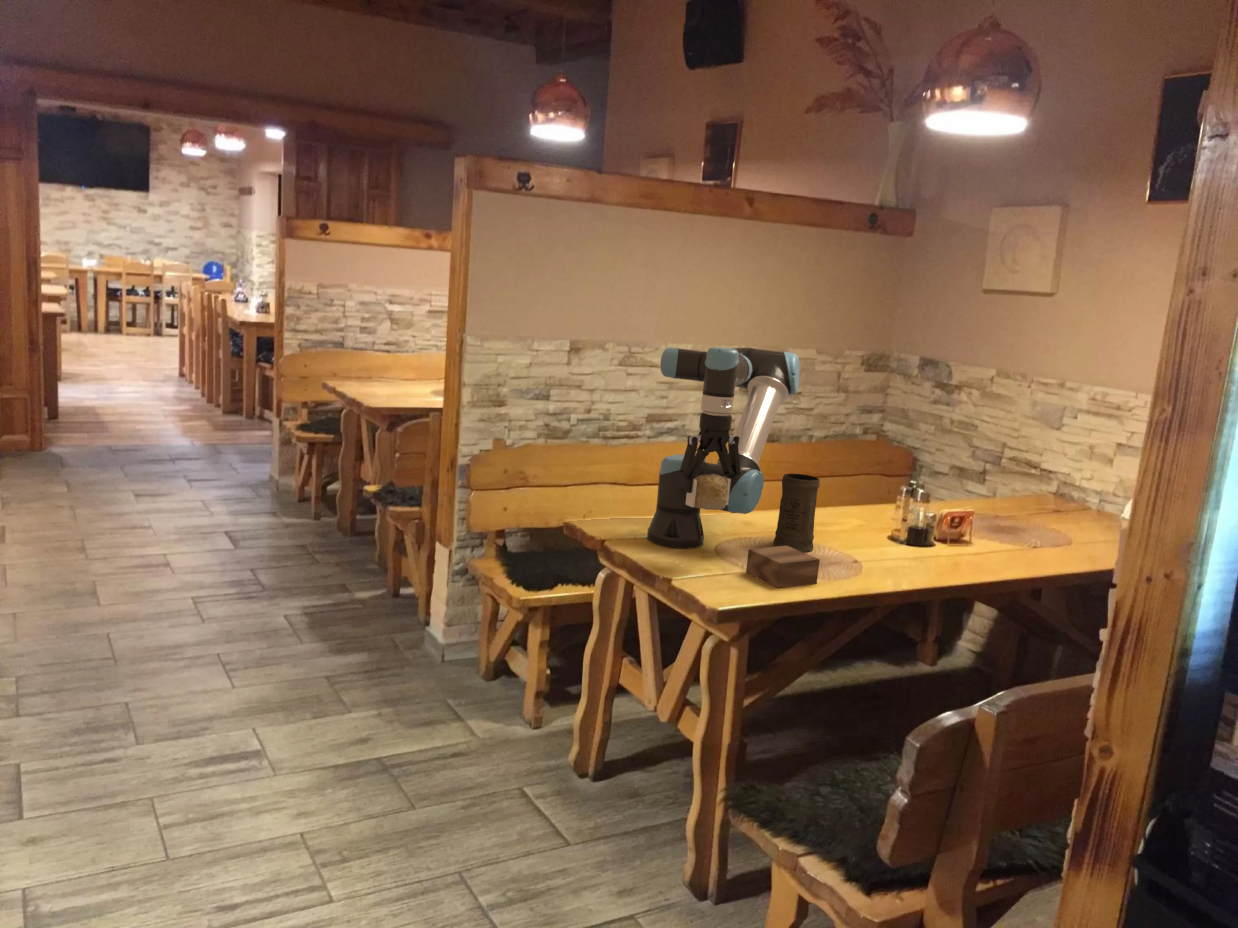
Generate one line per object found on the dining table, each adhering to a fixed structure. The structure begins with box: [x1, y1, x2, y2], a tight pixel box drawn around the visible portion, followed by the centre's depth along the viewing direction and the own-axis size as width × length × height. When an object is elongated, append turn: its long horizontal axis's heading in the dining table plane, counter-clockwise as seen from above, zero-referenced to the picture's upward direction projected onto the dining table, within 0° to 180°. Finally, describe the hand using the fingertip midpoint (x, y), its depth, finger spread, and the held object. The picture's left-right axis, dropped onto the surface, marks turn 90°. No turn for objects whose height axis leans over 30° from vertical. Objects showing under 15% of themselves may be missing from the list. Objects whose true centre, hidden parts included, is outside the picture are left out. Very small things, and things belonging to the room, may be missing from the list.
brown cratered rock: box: [695, 474, 728, 511], centre depth 235 cm, size 9×9×8 cm
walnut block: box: [745, 546, 821, 589], centre depth 234 cm, size 12×12×6 cm
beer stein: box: [772, 473, 821, 553], centre depth 264 cm, size 15×11×20 cm
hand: (706, 504), depth 236 cm, fingers closed on brown cratered rock, 9 cm apart
